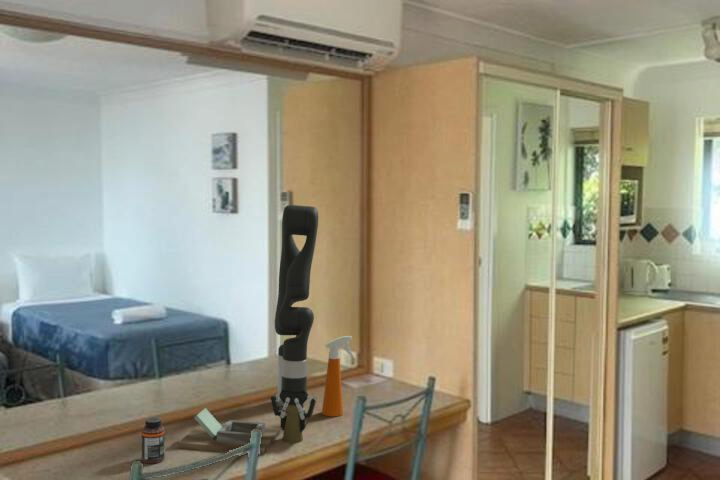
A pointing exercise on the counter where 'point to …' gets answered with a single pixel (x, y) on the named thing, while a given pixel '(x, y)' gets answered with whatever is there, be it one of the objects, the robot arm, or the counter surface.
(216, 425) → the latch flap
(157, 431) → the supplement bottle
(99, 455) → the counter surface
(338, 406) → the spray bottle
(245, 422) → the holder board
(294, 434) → the olive knobbed cylinder
